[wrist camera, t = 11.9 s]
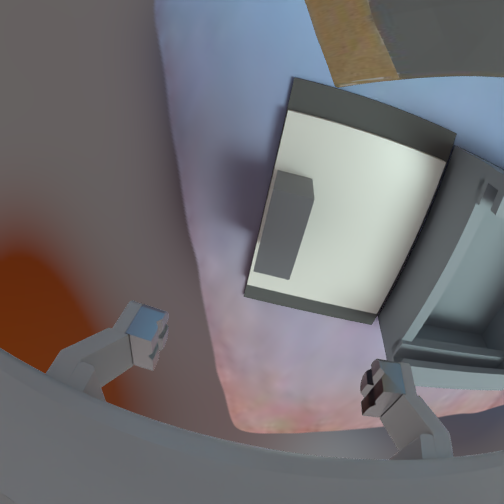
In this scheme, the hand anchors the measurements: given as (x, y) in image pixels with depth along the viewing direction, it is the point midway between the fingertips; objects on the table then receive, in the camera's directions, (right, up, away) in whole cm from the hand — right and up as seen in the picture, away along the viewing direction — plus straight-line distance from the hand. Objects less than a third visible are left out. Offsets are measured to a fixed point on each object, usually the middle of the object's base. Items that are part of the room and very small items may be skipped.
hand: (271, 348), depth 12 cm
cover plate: (+6, +6, +12) cm, 15 cm away
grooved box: (+20, +3, +12) cm, 23 cm away
